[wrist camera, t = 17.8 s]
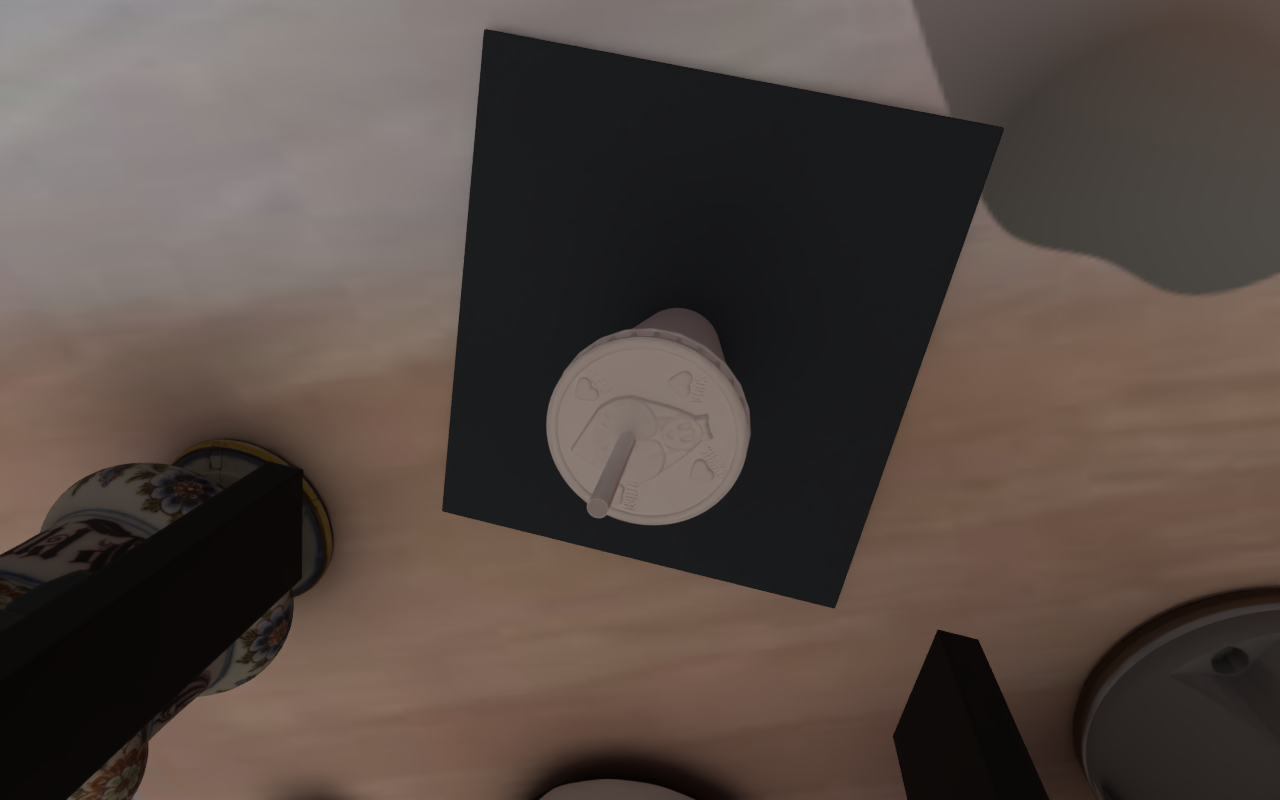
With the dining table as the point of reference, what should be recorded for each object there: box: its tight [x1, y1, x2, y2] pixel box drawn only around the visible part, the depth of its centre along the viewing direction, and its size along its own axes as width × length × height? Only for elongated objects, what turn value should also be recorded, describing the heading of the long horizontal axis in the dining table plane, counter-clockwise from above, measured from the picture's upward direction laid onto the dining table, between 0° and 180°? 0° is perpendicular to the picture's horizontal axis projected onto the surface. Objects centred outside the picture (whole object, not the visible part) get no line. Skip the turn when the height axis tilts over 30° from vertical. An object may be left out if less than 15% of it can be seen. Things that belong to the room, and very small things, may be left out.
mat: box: [442, 29, 1004, 608], centre depth 31 cm, size 20×22×1 cm
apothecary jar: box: [0, 439, 332, 800], centre depth 30 cm, size 12×12×18 cm
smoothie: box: [546, 308, 751, 525], centre depth 24 cm, size 6×6×14 cm
